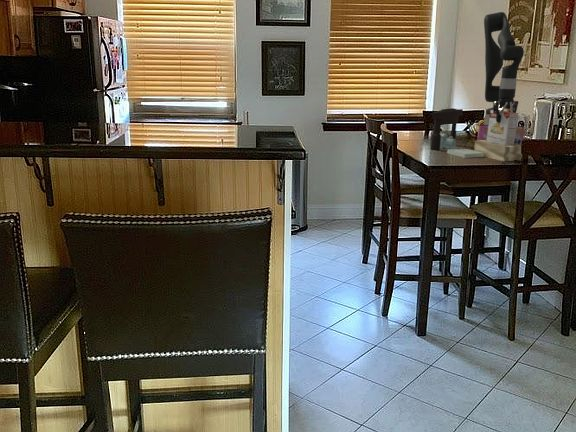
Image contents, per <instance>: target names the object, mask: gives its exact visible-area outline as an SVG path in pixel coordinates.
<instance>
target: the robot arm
mask: <svg viewBox="0 0 576 432" xmlns="http://www.w3.org/2000/svg"><path fill="white" fill-rule="evenodd" d="M483 26H484V27H483V28H484V41H485V47H484V48H485V49H484V52H485V57H484V59H485V60H484V63H485V65H484V66H485V88H484V100H485V102H488V103H493V105H492V107H489V108H486V109H485V117H484V124H483V125H489V119H490V111H491V110H493V113H495V114H496V115H497V116H496V122H498V123H500V122H501V114H502V111H508V112H514V113H517V111H518V106H519V101H518V100H514V98H515V97H516V90H517V76H518V69H519V66H520V64H521V62H522V60H523V57H524V54H525V53H524V48H523V46H521V45H516V41H515V38H514V37H513V35H512V32H511V28H510V23H509V19H508V16H507V14H506V12H503V11H499V12H494V13H490V14H486V15H485V16H484V18H483ZM494 32H495V33H496V32H499V34H498V36H497V42H496V41H495V39H494V38H493V33H494ZM497 43H498V44H497ZM504 61H505V62H506V61H507V62H508V61H509V62H510V61H512V62H511V64H510V65H509V64H508V65H505V66H503V65H504ZM501 70H502V71H501ZM500 71H501V78H500V83H499V85H493V82H494V80H495V77H497V75H498V74H499V73H500ZM505 109H506V110H505Z"/></svg>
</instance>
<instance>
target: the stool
mask: <svg viewBox="0 0 576 432" xmlns="http://www.w3.org/2000/svg"><path fill="white" fill-rule="evenodd" d="M463 111H464V110H463V109H457V108H443V109H439V110H438V111H433V112H432V119H433V120H434V121H433V132H432V133H431V140H430V142H431V143H430V150H433V151H441V150H440V149H446V150H449V149H459V148H458V147H457V145H456V144H457V139H456V138H457V124H458V123H459V119H460V118H459V117H462V116H463V113H464V112H463ZM444 125H451V130H450V131H449V133H450V134H449V136H448V134H447V133H441V128H442V127H441V126H444Z"/></svg>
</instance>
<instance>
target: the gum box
mask: <svg viewBox="0 0 576 432" xmlns="http://www.w3.org/2000/svg"><path fill="white" fill-rule="evenodd" d="M488 126H489V125H484V124H478V130H477V139H476V140H487V133H488ZM526 133H527V132H526V128H525V127H524V126H519V125H517V127H516V134H515V141H514V143H516V144H521V140H522V139H523V140H524V139H525V135H526Z"/></svg>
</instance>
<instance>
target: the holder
mask: <svg viewBox="0 0 576 432" xmlns="http://www.w3.org/2000/svg"><path fill="white" fill-rule="evenodd" d="M486 141H487V140H477V139H476V140H475V141H474V151H478V152H482V153H484V157H485V158H489V159H493V160H496V161H499V162H513V161H514V160H517V161H522V160H521V158H522V154H521V144H516V143H514V145H513V146H504V145H499V144H495V143H490V142H486ZM484 157H483V158H484ZM514 162H515V161H514Z"/></svg>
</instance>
